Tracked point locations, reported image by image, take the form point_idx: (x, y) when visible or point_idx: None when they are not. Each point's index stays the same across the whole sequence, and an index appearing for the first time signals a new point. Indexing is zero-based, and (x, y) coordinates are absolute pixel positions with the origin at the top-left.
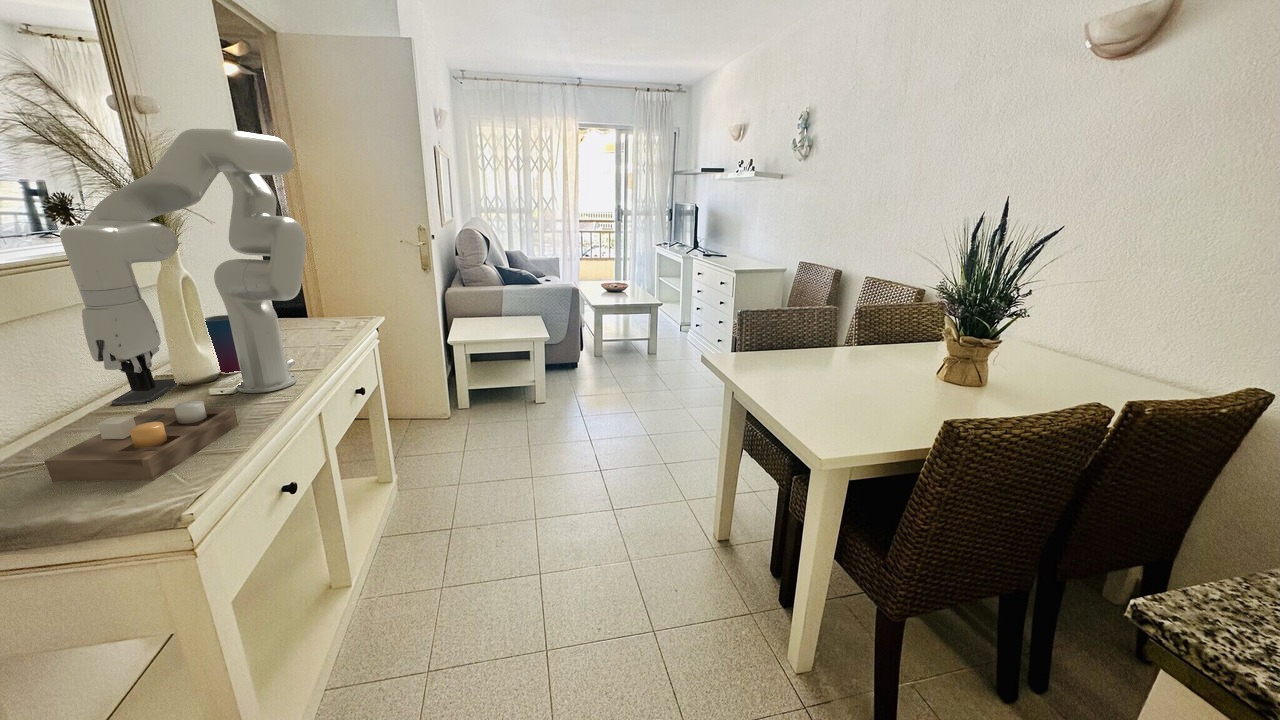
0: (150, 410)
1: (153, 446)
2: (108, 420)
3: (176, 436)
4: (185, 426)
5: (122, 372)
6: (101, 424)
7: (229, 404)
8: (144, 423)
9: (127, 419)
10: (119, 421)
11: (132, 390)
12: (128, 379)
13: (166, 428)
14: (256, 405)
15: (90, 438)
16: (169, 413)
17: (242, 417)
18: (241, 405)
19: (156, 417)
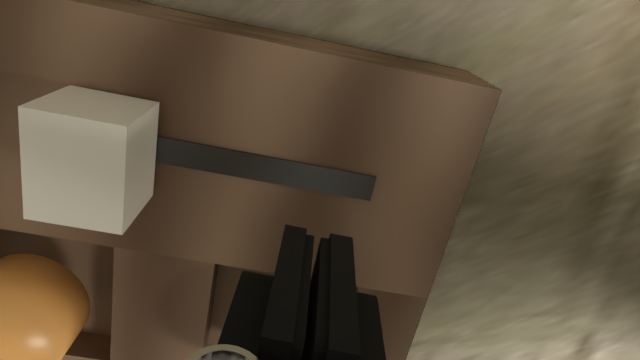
0: (463, 97)
1: (96, 257)
2: (72, 136)
3: (112, 341)
4: (204, 335)
5: (203, 348)
6: (20, 128)
7: (635, 250)
8: (29, 326)
9: (85, 226)
10: (55, 204)
11: (286, 225)
12: (275, 281)
13: (191, 279)
14: (572, 343)
15: (96, 8)
16: (385, 210)
17: (452, 341)
18: (598, 296)
19: (333, 183)
